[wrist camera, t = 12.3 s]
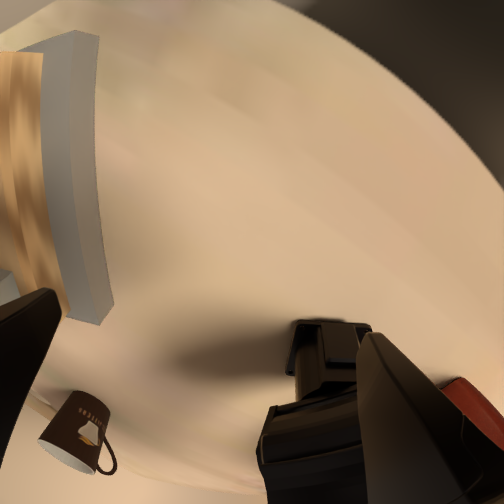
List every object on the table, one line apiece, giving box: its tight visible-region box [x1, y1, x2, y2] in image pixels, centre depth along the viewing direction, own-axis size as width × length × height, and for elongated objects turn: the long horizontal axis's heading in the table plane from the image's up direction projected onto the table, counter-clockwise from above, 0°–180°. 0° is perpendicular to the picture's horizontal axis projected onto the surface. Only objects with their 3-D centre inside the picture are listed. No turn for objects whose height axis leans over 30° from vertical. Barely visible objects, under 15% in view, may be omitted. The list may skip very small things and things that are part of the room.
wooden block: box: [0, 52, 71, 324], centre depth 15 cm, size 20×6×4 cm, turn 175°
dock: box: [16, 30, 114, 326], centre depth 18 cm, size 22×12×3 cm, turn 175°
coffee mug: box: [37, 390, 117, 475], centre depth 31 cm, size 12×9×10 cm
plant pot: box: [441, 378, 504, 451], centre depth 23 cm, size 19×19×17 cm
